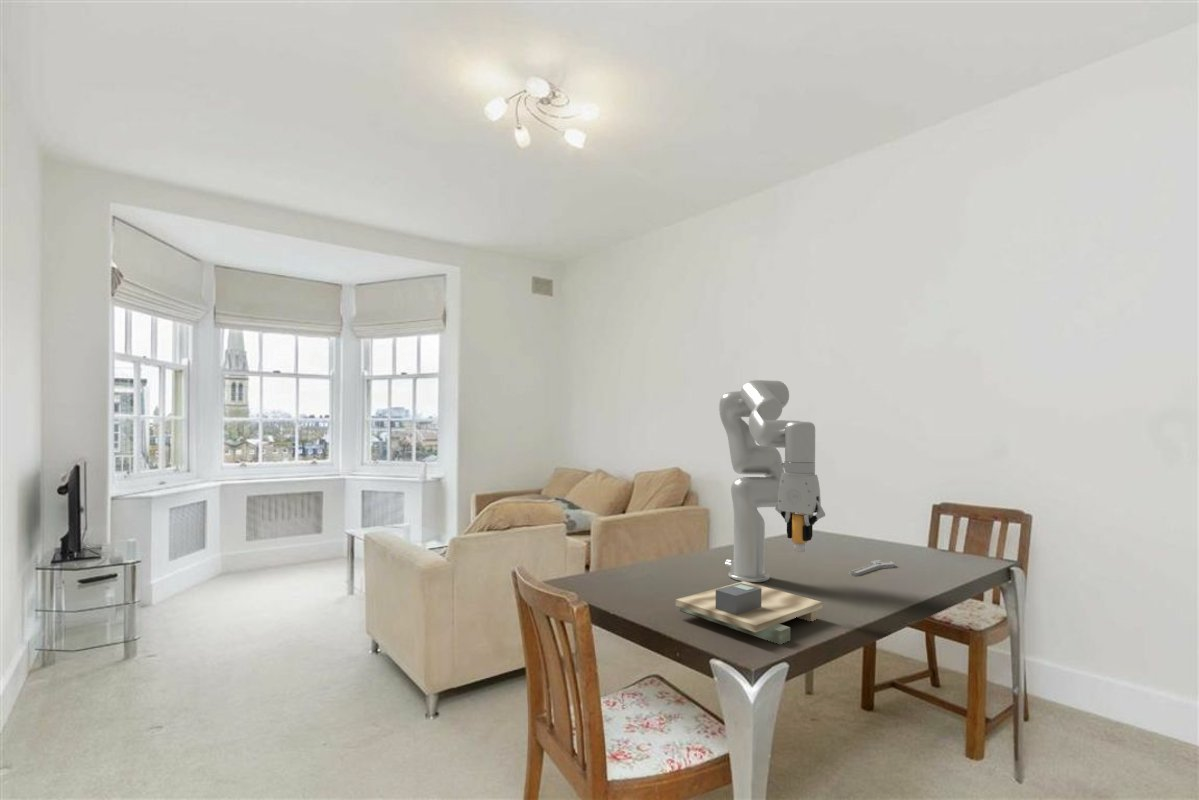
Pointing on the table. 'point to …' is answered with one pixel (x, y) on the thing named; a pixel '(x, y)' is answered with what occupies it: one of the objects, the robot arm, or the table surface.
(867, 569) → the adjustable wrench
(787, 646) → the table surface
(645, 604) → the table surface
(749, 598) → the block
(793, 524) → the orange and grey cylinder
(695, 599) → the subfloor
